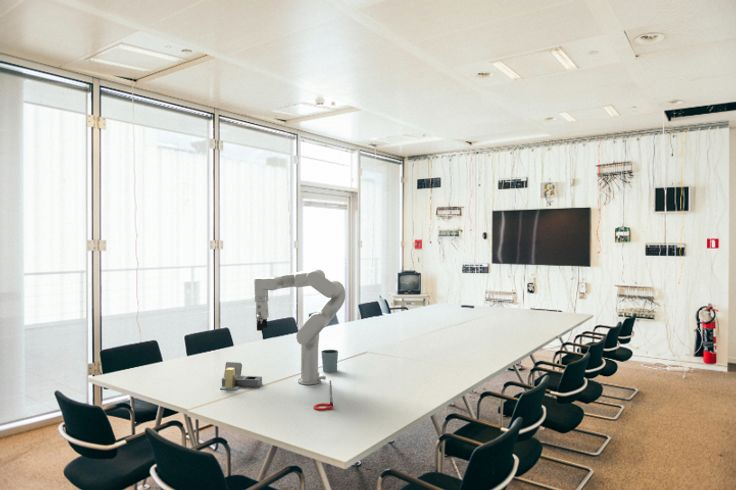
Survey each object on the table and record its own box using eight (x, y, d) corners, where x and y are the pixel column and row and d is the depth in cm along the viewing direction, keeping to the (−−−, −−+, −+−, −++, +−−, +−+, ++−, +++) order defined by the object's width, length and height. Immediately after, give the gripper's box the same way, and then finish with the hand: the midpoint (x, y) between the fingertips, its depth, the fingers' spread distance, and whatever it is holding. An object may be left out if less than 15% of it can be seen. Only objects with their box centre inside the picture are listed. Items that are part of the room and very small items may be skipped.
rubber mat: (240, 387, 263) (240, 386, 263) (236, 390, 258) (236, 389, 258) (223, 386, 264) (223, 385, 264) (220, 389, 259) (220, 388, 259)
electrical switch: (223, 379, 280) (224, 362, 280) (227, 377, 285) (228, 361, 285) (238, 380, 278) (239, 363, 279) (242, 378, 283) (243, 362, 284)
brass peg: (235, 386, 263) (235, 367, 263) (232, 388, 259) (232, 369, 259) (228, 386, 264) (228, 367, 264) (225, 388, 260) (225, 369, 260)
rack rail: (262, 383, 270) (262, 376, 270) (257, 387, 263) (257, 380, 263) (226, 382, 272) (226, 375, 272) (221, 386, 266) (221, 378, 265)
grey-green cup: (335, 373, 292) (335, 353, 292) (319, 372, 294) (319, 352, 294) (339, 369, 302) (339, 349, 302) (324, 368, 304) (324, 348, 304)
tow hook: (313, 412, 228) (333, 410, 228) (312, 384, 228) (332, 382, 228) (313, 406, 236) (333, 404, 237) (312, 379, 236) (331, 378, 237)
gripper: (263, 300, 270) (264, 331, 271) (271, 297, 288) (272, 326, 288) (250, 300, 271) (251, 331, 271) (259, 297, 288) (259, 326, 288)
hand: (262, 329), depth 279 cm, fingers open, 9 cm apart
